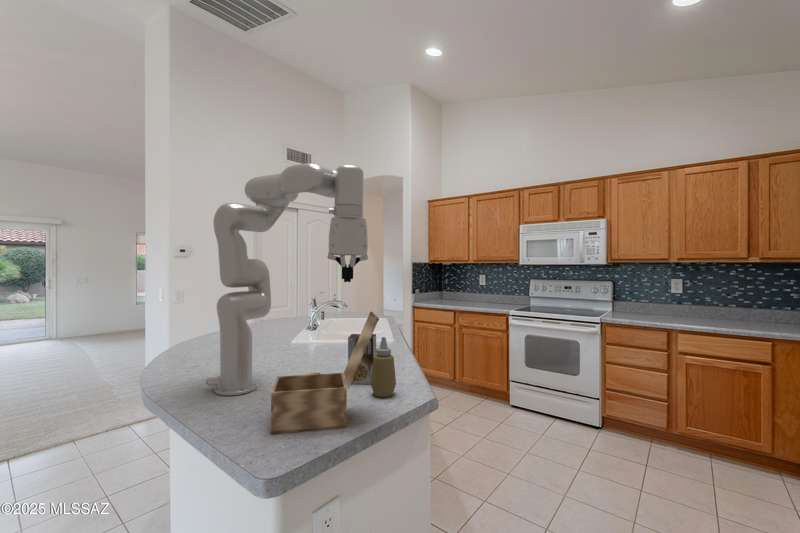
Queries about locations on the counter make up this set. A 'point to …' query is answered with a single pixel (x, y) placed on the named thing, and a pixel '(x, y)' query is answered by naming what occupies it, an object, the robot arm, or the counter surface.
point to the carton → (308, 403)
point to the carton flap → (360, 348)
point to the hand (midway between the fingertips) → (347, 281)
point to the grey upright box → (363, 359)
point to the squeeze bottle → (383, 371)
